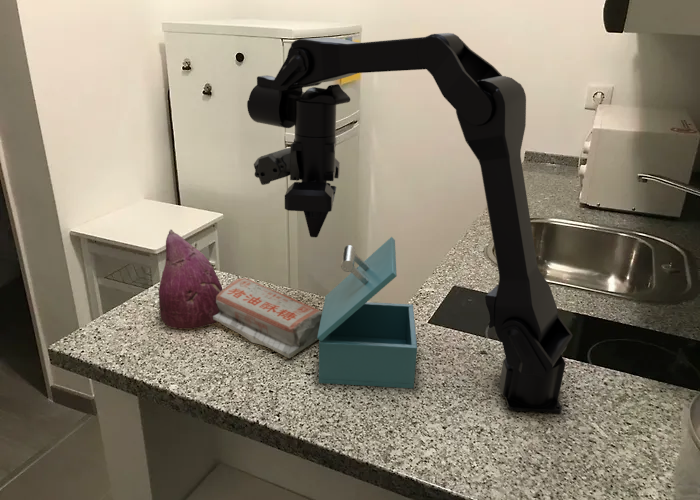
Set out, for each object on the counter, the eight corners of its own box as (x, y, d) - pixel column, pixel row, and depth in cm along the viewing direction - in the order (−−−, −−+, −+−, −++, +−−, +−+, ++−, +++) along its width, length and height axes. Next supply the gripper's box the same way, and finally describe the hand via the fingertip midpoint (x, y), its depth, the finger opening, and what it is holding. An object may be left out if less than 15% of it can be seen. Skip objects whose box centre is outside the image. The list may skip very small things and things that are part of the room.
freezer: (410, 341, 86) (413, 304, 84) (413, 388, 76) (417, 348, 73) (326, 336, 87) (326, 299, 84) (318, 383, 76) (318, 342, 74)
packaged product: (334, 304, 86) (289, 332, 78) (333, 332, 88) (289, 362, 80) (246, 267, 95) (199, 289, 88) (247, 293, 97) (200, 316, 90)
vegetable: (154, 334, 92) (114, 248, 87) (204, 301, 99) (170, 220, 94) (192, 341, 85) (150, 248, 80) (243, 305, 92) (208, 218, 87)
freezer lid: (395, 240, 80) (370, 215, 79) (396, 276, 69) (367, 249, 68) (328, 299, 84) (303, 277, 83) (320, 341, 74) (292, 317, 72)
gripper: (269, 117, 90) (271, 212, 96) (243, 146, 73) (248, 259, 79) (340, 121, 90) (338, 215, 96) (332, 150, 73) (329, 263, 79)
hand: (314, 236), depth 88 cm, fingers closed
